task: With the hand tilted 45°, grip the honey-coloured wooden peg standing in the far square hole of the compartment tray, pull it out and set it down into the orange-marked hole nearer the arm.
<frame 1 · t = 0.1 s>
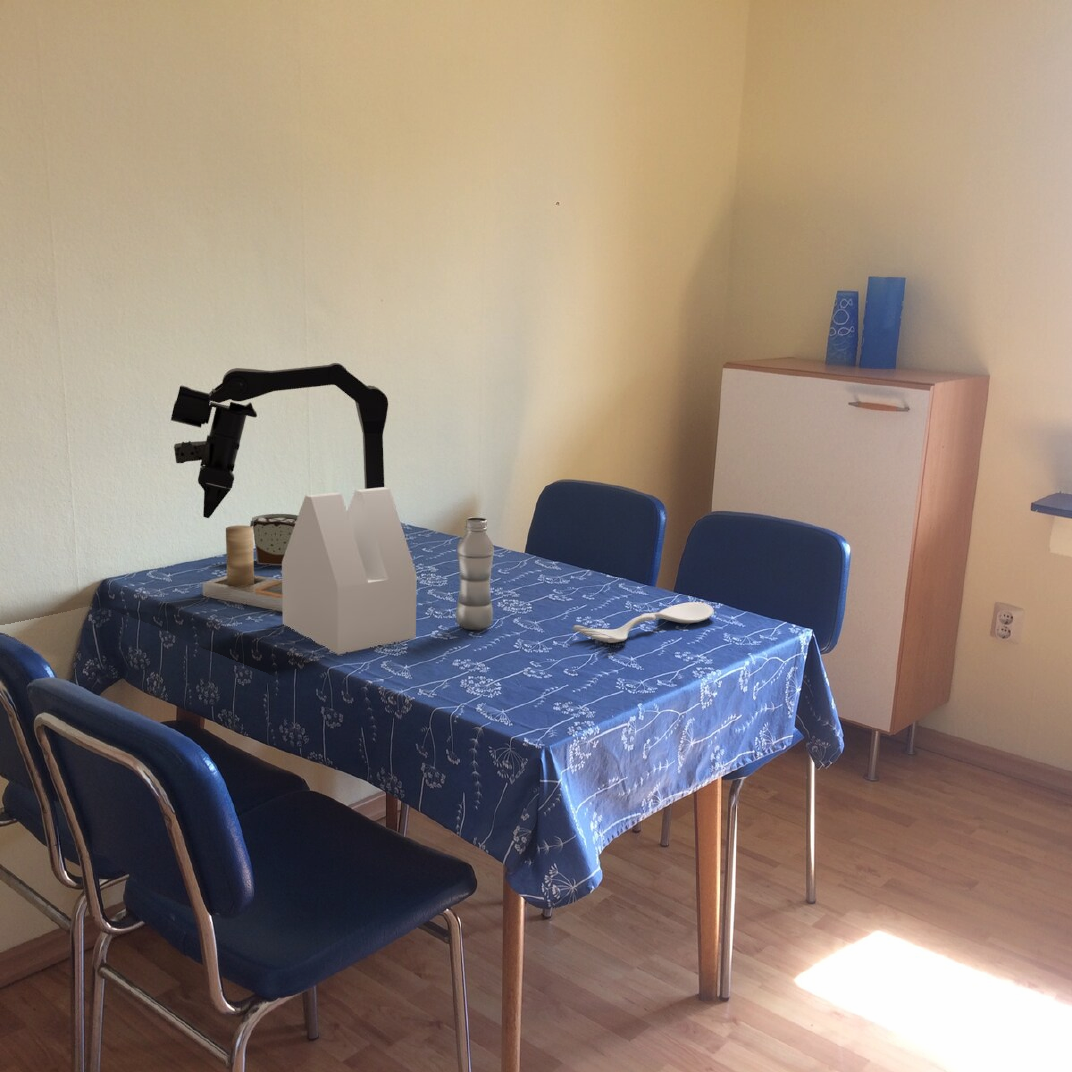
hand: (206, 512, 213), 15 cm above the table, tool pointing down, fingers open, 9 cm apart
plastic bottle: (474, 629, 199), on the table
compartment tray: (263, 598, 212), on the table
food container: (283, 562, 239), on the table
wooden peg: (240, 593, 214), resting in compartment tray
spoon: (649, 632, 202), on the table
white notched block: (348, 632, 195), on the table
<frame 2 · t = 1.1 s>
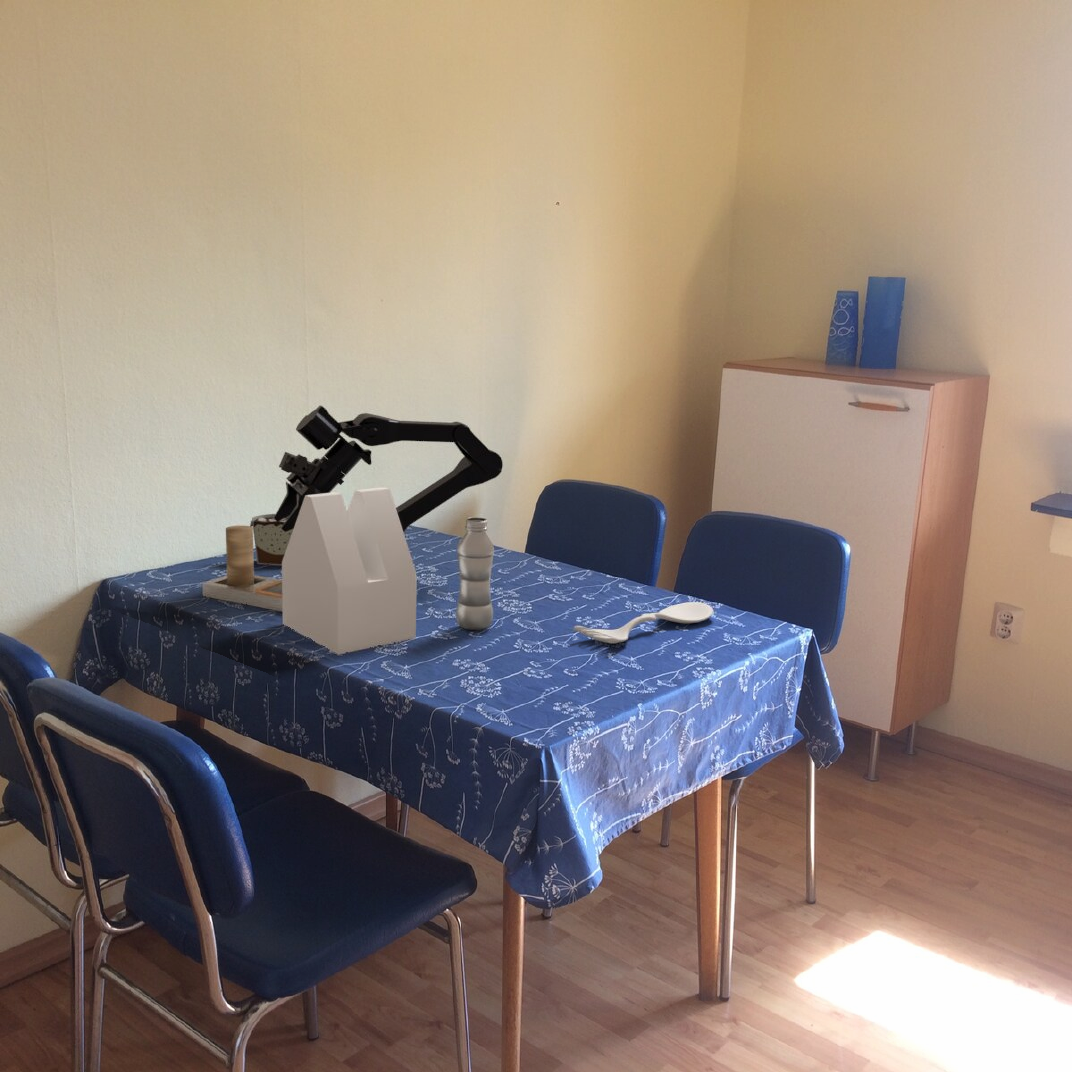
hand: (279, 524, 214), 13 cm above the table, tool tilted 45°, fingers open, 9 cm apart
nothing on the table moved.
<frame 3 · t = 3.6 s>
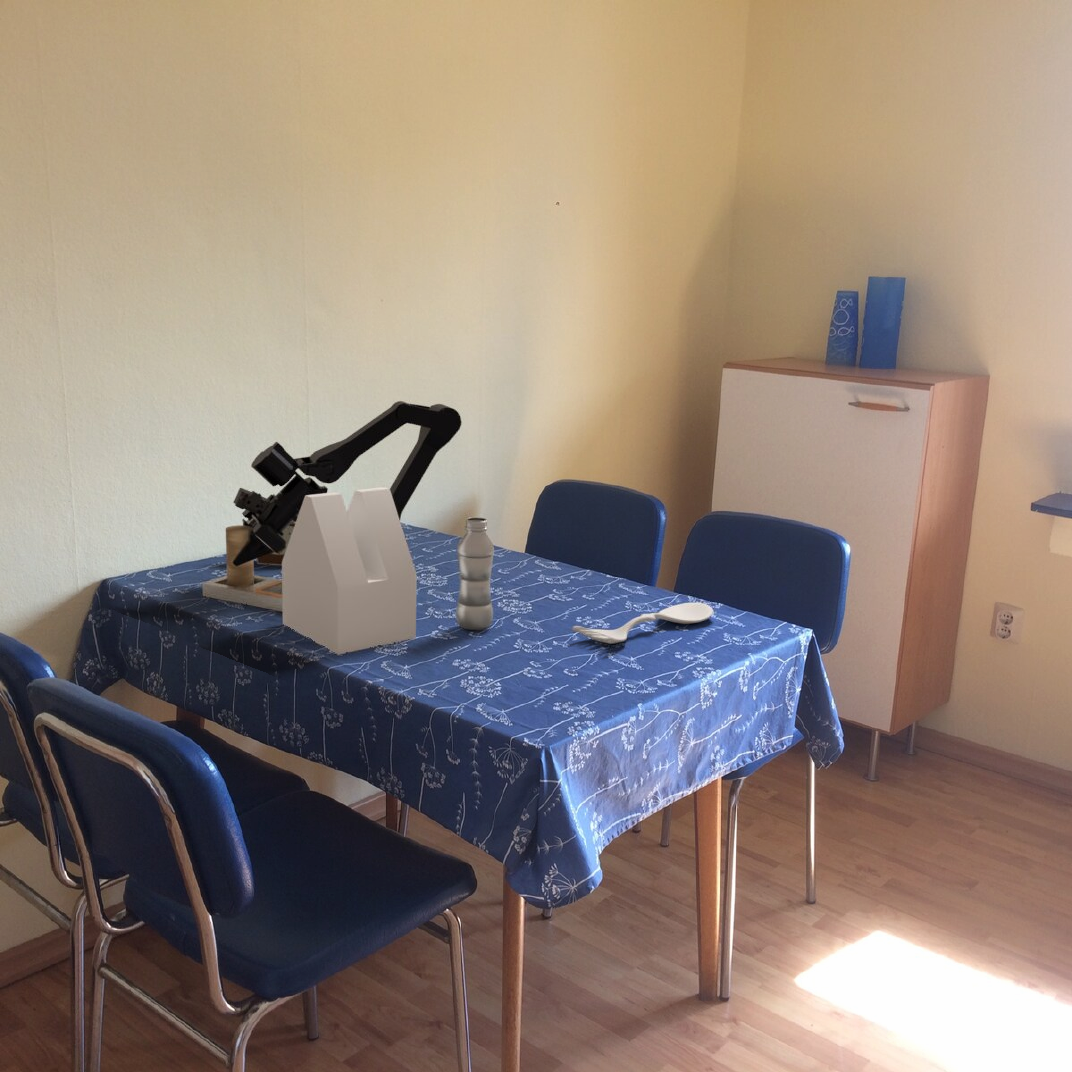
hand: (232, 561, 212), 7 cm above the table, tool tilted 45°, fingers closed on wooden peg, 5 cm apart
wooden peg: (240, 593, 214), resting in compartment tray, touching gripper
everything else where it was.
when the fingers open (7 cm above the table, at t = 8.1 s): wooden peg stays where it is, resting in compartment tray.
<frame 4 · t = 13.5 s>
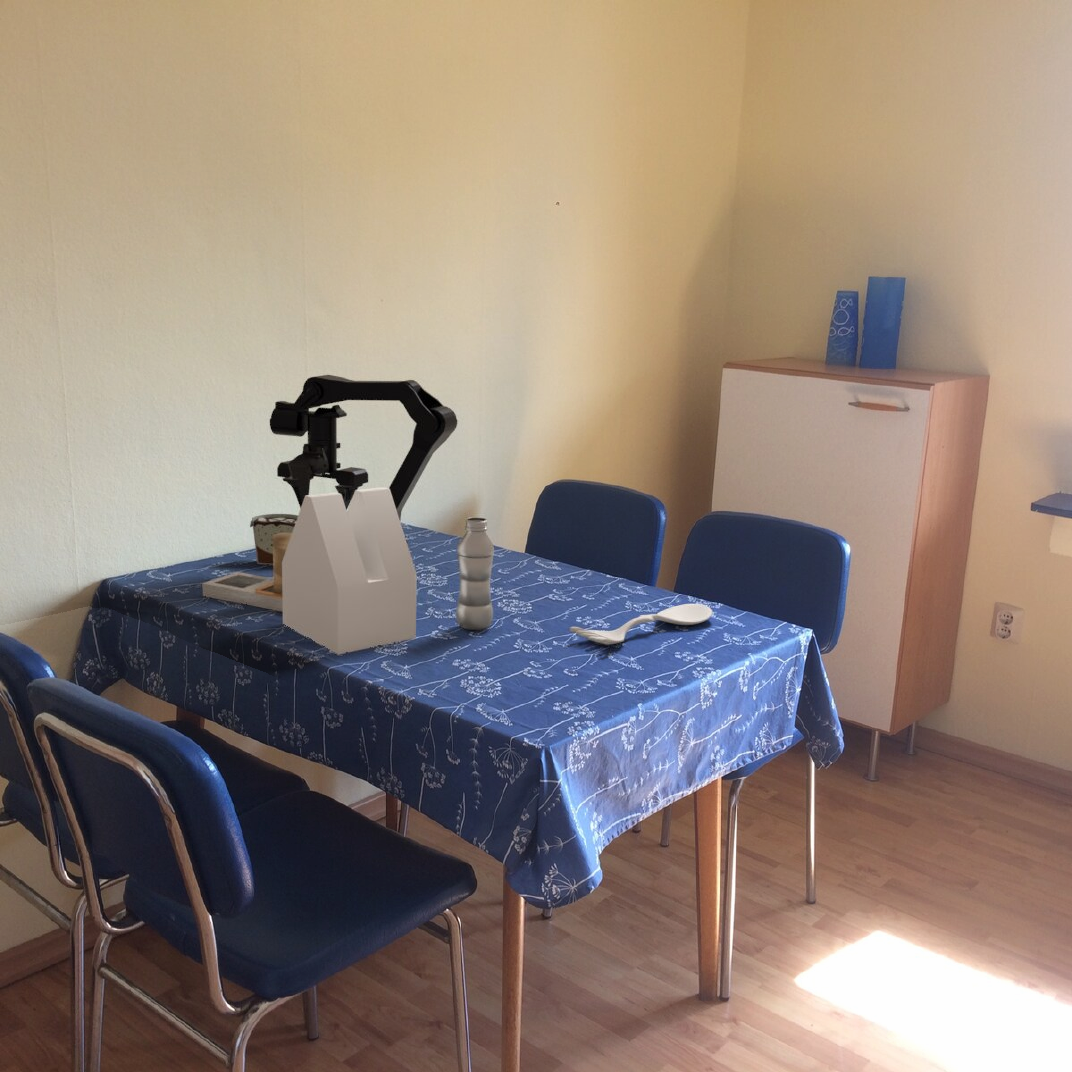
hand: (322, 514, 226), 13 cm above the table, tool pointing down, fingers open, 9 cm apart
wooden peg: (287, 602, 210), resting in compartment tray
at the end: wooden peg 0.1 cm from the target spot on the compartment tray, point 0.0 cm above the compartment tray's base; wooden peg tilted 0°; the gripper is holding nothing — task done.
